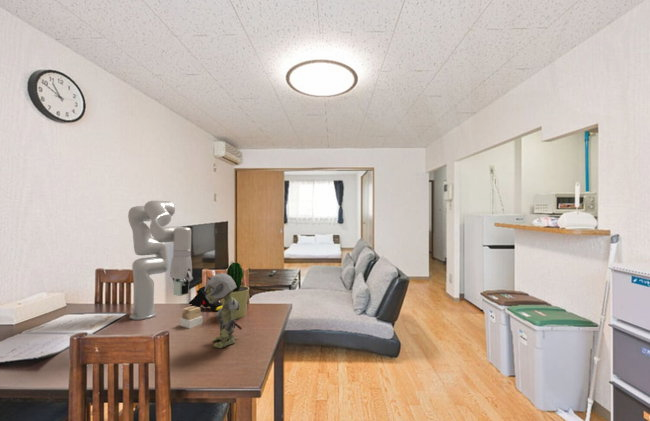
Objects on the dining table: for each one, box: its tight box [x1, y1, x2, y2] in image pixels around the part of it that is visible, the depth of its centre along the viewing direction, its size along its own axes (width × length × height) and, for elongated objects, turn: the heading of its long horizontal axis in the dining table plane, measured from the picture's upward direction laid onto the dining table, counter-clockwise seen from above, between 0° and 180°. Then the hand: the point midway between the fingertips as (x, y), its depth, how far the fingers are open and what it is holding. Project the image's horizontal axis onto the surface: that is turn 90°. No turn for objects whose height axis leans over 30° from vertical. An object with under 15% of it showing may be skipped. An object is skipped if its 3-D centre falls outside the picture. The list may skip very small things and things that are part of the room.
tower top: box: [181, 306, 201, 320], centre depth 154 cm, size 6×6×4 cm
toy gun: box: [188, 285, 222, 312], centre depth 180 cm, size 5×18×12 cm
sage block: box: [173, 280, 190, 297], centre depth 142 cm, size 5×5×6 cm
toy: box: [204, 273, 243, 349], centre depth 133 cm, size 15×16×30 cm
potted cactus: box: [220, 261, 250, 320], centre depth 169 cm, size 15×15×30 cm
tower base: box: [179, 315, 204, 329], centre depth 154 cm, size 8×8×4 cm
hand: (181, 292), depth 142 cm, fingers closed on sage block, 4 cm apart
